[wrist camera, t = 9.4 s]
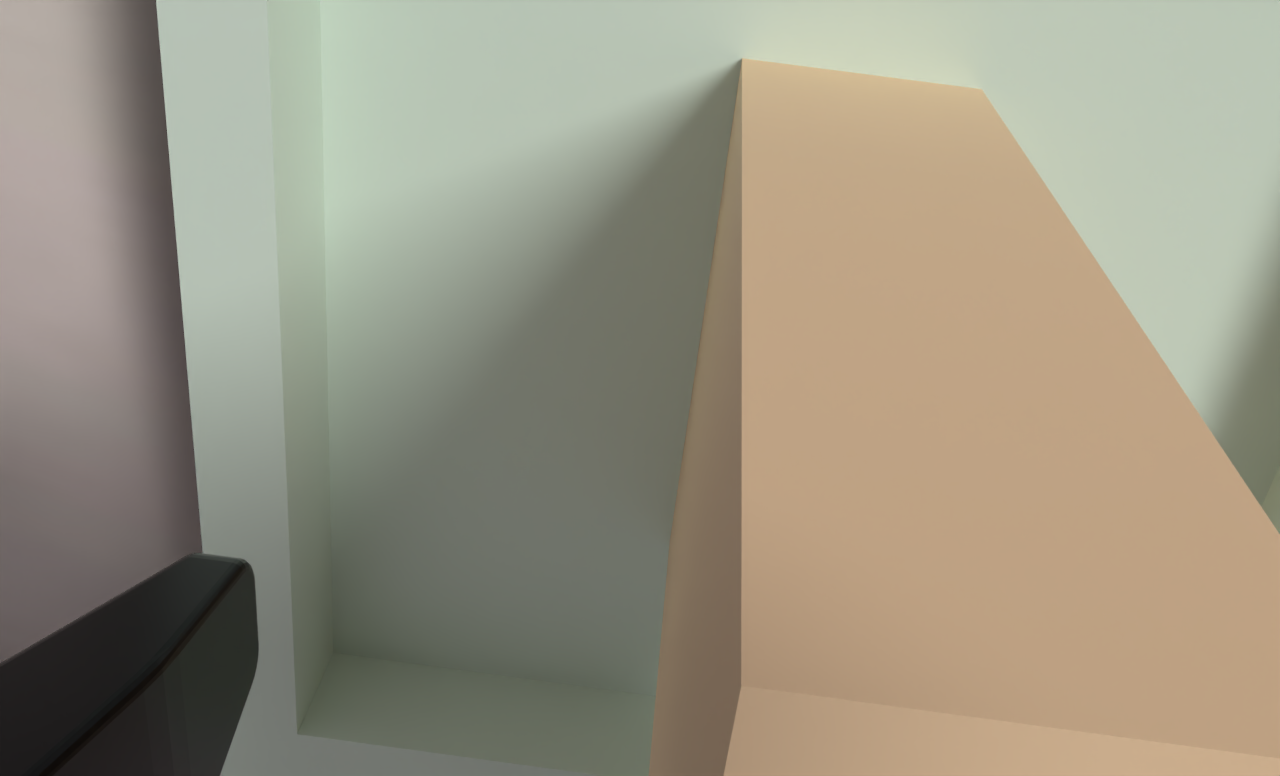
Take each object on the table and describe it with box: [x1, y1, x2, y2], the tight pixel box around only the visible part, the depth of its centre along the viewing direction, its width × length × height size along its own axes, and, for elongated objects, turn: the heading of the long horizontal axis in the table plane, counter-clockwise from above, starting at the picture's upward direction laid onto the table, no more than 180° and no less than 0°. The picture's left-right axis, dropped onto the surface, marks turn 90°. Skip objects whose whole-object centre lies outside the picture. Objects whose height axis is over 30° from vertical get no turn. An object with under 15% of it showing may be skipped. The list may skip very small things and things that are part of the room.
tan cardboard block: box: [649, 58, 1280, 776], centre depth 9 cm, size 6×2×9 cm, turn 174°
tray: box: [156, 0, 1280, 776], centre depth 13 cm, size 13×13×2 cm
